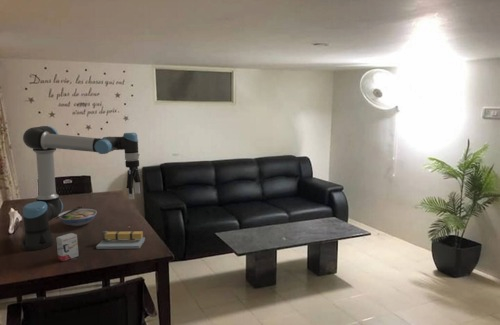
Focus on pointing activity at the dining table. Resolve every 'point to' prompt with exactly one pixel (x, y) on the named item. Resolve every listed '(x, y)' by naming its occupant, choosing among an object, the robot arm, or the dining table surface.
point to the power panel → (121, 244)
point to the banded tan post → (122, 235)
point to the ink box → (67, 247)
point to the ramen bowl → (77, 216)
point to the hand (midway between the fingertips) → (134, 196)
